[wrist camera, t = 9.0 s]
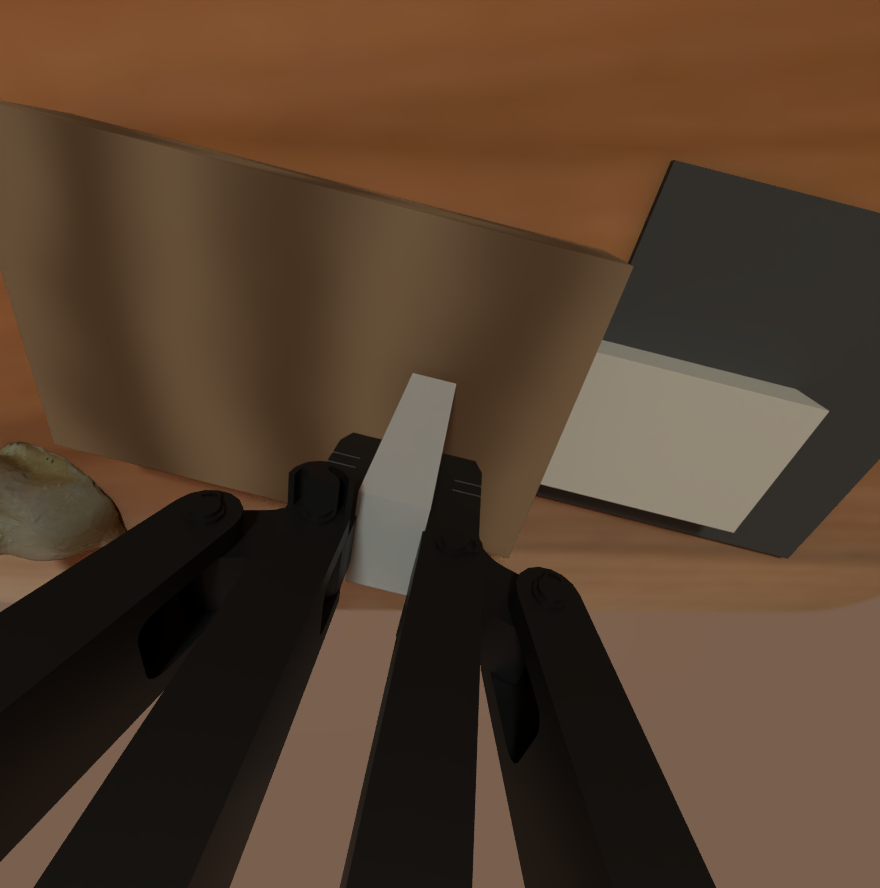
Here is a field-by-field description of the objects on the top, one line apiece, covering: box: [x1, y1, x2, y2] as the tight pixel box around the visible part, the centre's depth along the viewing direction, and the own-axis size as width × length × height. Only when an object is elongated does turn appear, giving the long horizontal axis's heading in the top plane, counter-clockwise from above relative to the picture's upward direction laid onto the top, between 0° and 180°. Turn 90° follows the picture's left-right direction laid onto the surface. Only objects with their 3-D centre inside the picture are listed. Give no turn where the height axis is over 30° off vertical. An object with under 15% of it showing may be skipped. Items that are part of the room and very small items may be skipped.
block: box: [541, 340, 829, 533], centre depth 18 cm, size 9×6×2 cm, turn 78°
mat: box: [536, 160, 880, 559], centre depth 17 cm, size 13×14×1 cm
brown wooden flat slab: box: [0, 101, 634, 558], centre depth 17 cm, size 20×12×4 cm, turn 78°
